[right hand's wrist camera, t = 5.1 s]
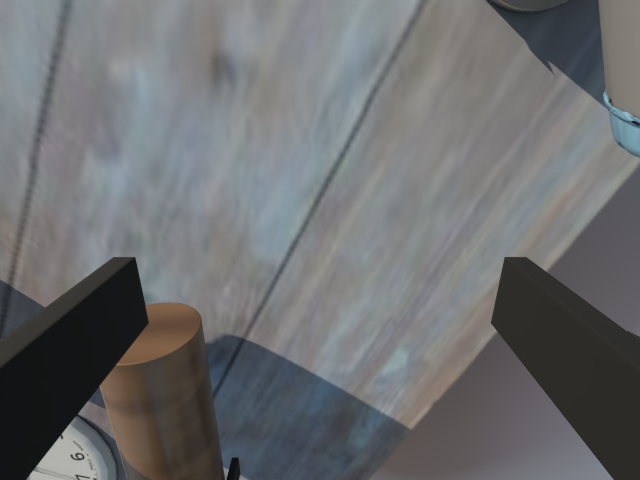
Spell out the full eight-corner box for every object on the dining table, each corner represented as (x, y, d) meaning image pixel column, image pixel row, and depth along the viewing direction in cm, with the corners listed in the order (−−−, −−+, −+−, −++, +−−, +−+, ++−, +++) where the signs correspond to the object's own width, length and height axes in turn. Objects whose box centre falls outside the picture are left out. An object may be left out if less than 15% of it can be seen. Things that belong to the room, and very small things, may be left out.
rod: (123, 302, 35) (62, 364, 26) (213, 302, 35) (179, 364, 26) (167, 483, 45) (131, 571, 36) (237, 483, 45) (217, 571, 36)
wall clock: (138, 513, 63) (-11, 534, 65) (143, 504, 65) (-4, 524, 67) (61, 388, 52) (-115, 417, 55) (69, 380, 54) (-103, 409, 56)
